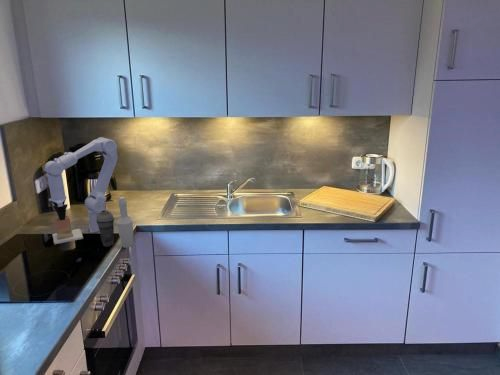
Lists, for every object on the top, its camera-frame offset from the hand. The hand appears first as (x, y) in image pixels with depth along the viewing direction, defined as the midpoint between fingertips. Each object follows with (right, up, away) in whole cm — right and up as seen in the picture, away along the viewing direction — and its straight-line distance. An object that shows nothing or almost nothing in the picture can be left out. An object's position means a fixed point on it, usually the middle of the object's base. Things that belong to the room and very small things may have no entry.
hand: (61, 217), depth 184 cm
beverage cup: (+22, -12, -4) cm, 26 cm away
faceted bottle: (+31, -12, -6) cm, 34 cm away
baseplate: (+1, -10, +4) cm, 10 cm away
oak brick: (0, -9, +3) cm, 9 cm away
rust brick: (0, -5, +1) cm, 5 cm away
